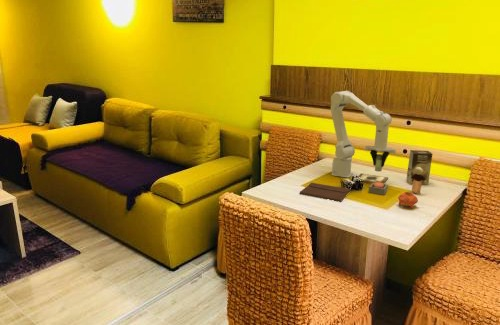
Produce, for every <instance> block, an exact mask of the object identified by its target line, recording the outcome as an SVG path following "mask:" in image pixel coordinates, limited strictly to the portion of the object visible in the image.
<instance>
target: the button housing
mask: <svg viewBox="0 0 500 325" xmlns="http://www.w3.org/2000/svg"><path fill="white" fill-rule="evenodd" d="M388 186H389V185H388V184H385V183H384V186H383V188H378V187H374V183H372V184H370V185H369V186H368V194H374V195H380V196H385V195H386V193H387V192H388Z"/></svg>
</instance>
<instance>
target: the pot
mask: <svg viewBox="0 0 500 325" xmlns="http://www.w3.org/2000/svg"><path fill="white" fill-rule="evenodd" d="M397 198H398V206H400V207H401V206H402V205H404V206H408V207H410V209H413V208H414V206H415V205H416V204H417V203H418V202H419V198H418V197H417V196H416V195H415V194H414V193H410V191H405V192H403V193H401V194H400V195H399V196H398V197H397Z"/></svg>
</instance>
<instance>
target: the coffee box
mask: <svg viewBox="0 0 500 325" xmlns="http://www.w3.org/2000/svg"><path fill="white" fill-rule="evenodd" d="M432 159H433V153H432V152H431V151H429V150H414V149H413V150H412V149H410V150H409V158H408V165H407V173H406V179H405V181H406V182H407V183H408V184H409V185H413V181H414V179H412V181H409V180H410V178H411V176H413V175H414V174H416V170H415V169H416V168H417V167H421V168H422V170H423V172H422V173H421V174H420V175H422V176H424V177H425V179H426V182H427V183H426V184H425V183H424V181H423V180H421V186H424V185H425V186H428V185H429V182H430V181H429V180H430V175H431V168H432Z"/></svg>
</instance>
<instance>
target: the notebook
mask: <svg viewBox="0 0 500 325" xmlns="http://www.w3.org/2000/svg"><path fill="white" fill-rule="evenodd" d="M350 191H351V192H352V189H351V188H345V187H339V186H333V185H329V184H324V183H316V182H310V183H309V184H308V185H307V186H305V187H304V188H303V189H301V190H300V191H299V195H302V196H305V197H306V196H307V197H311V198H318V199H322V198H323V200H327V199H329V201H332V200H334V201H333V202H338V201H339V203H341V202H342V201H343V200H344V199H345V198H346V197H347V196H348V195H349V194H350V193H351V192H350ZM349 192H350V193H349ZM348 193H349V194H348ZM347 194H348V195H347ZM346 195H347V196H346Z"/></svg>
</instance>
